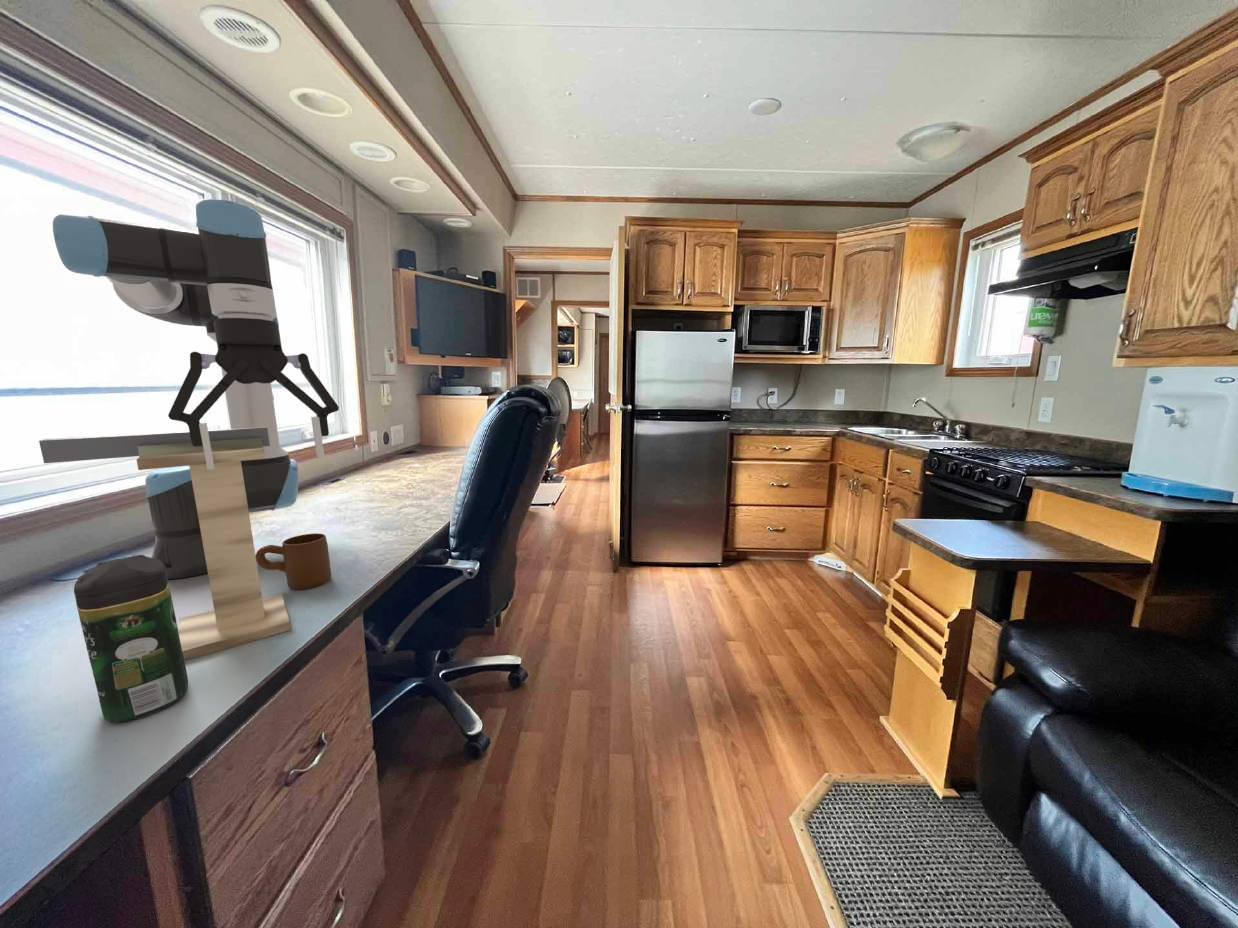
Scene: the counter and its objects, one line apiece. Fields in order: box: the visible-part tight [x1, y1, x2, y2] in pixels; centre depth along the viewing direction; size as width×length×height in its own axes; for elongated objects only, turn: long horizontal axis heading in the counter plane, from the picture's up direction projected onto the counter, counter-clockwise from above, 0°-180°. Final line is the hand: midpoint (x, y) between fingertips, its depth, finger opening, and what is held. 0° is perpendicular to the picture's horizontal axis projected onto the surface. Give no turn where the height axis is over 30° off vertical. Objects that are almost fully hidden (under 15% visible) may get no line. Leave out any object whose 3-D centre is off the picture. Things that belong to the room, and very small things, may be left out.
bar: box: [38, 427, 270, 464], centre depth 70 cm, size 3×24×3 cm, turn 130°
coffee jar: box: [73, 554, 189, 724], centre depth 58 cm, size 10×8×19 cm
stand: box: [136, 438, 291, 661], centre depth 75 cm, size 14×14×32 cm
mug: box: [255, 532, 332, 591], centre depth 94 cm, size 12×8×9 cm, turn 120°
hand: (269, 462), depth 72 cm, fingers open, 13 cm apart
